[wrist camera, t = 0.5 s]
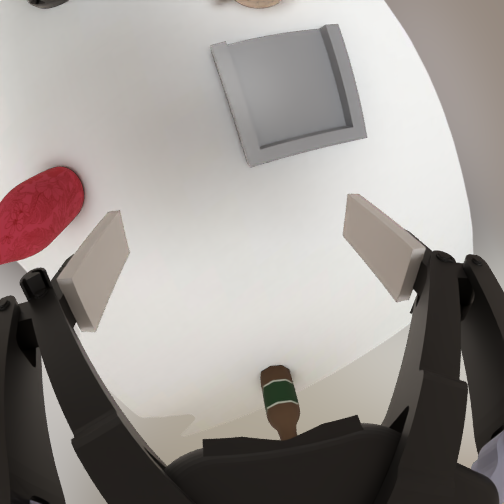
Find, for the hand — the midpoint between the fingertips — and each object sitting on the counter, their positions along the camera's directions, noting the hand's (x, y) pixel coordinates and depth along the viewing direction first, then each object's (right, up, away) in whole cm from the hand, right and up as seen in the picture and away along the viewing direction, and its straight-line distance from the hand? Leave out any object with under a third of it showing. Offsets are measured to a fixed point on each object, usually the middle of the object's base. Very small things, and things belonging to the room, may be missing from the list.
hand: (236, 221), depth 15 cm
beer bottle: (+6, -32, +50) cm, 59 cm away
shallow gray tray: (+6, +21, +19) cm, 30 cm away
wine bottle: (-30, +8, +22) cm, 38 cm away
